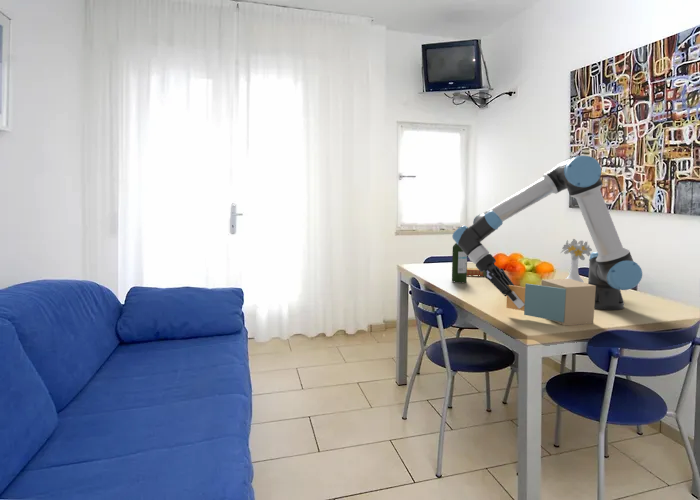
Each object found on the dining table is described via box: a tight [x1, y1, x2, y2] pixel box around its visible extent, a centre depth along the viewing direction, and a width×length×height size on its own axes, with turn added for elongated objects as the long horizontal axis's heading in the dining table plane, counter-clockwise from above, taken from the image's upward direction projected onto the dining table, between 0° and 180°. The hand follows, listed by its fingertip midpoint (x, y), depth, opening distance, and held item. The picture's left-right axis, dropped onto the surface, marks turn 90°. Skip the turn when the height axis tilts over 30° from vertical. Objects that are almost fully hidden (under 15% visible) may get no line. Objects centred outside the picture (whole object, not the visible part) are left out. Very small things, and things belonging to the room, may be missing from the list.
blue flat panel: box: [505, 283, 566, 322], centre depth 159 cm, size 1×21×12 cm, turn 46°
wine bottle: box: [451, 226, 468, 283], centre depth 231 cm, size 8×8×30 cm
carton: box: [467, 267, 487, 276], centre depth 251 cm, size 8×16×4 cm, turn 77°
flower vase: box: [560, 238, 593, 283], centre depth 208 cm, size 13×18×25 cm
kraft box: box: [540, 278, 596, 326], centre depth 160 cm, size 12×14×14 cm
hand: (522, 306), depth 162 cm, fingers closed
